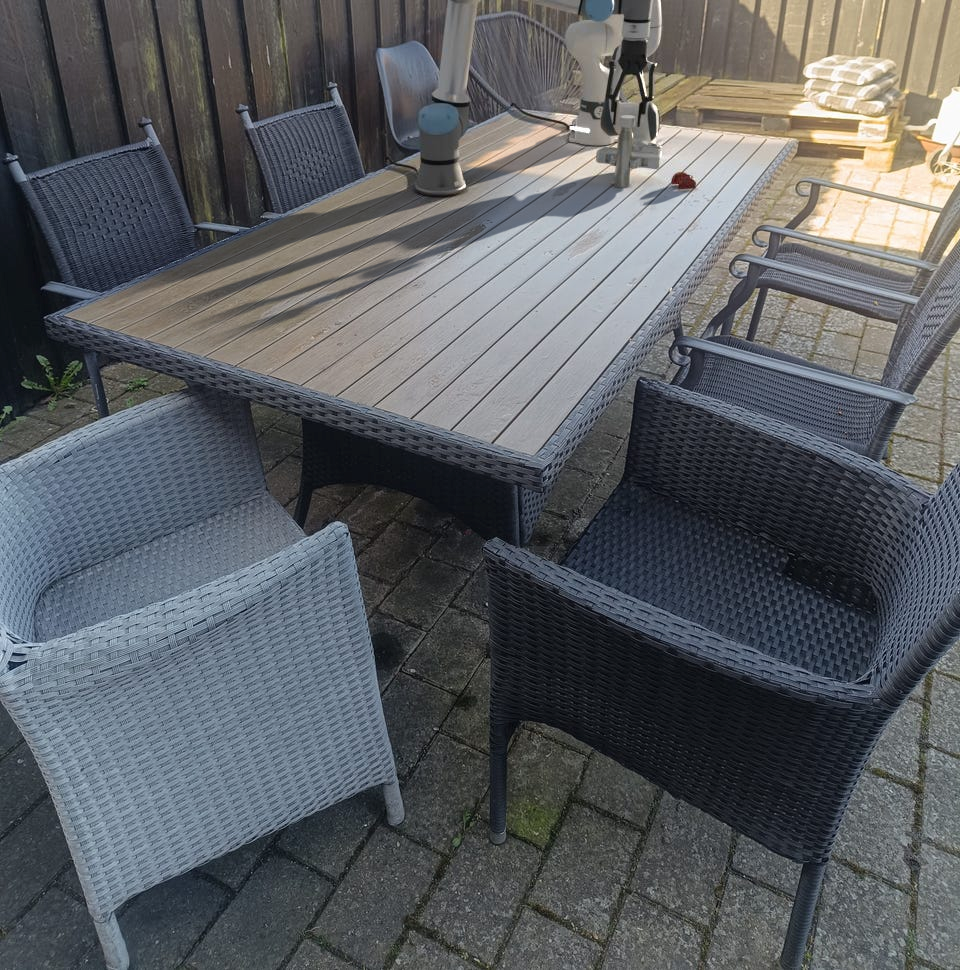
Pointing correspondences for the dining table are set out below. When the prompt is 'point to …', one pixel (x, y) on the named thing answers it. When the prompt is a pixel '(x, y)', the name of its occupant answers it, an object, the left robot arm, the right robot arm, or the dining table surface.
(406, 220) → the dining table surface
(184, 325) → the dining table surface
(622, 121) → the cap
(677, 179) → the dental model
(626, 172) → the bottle
